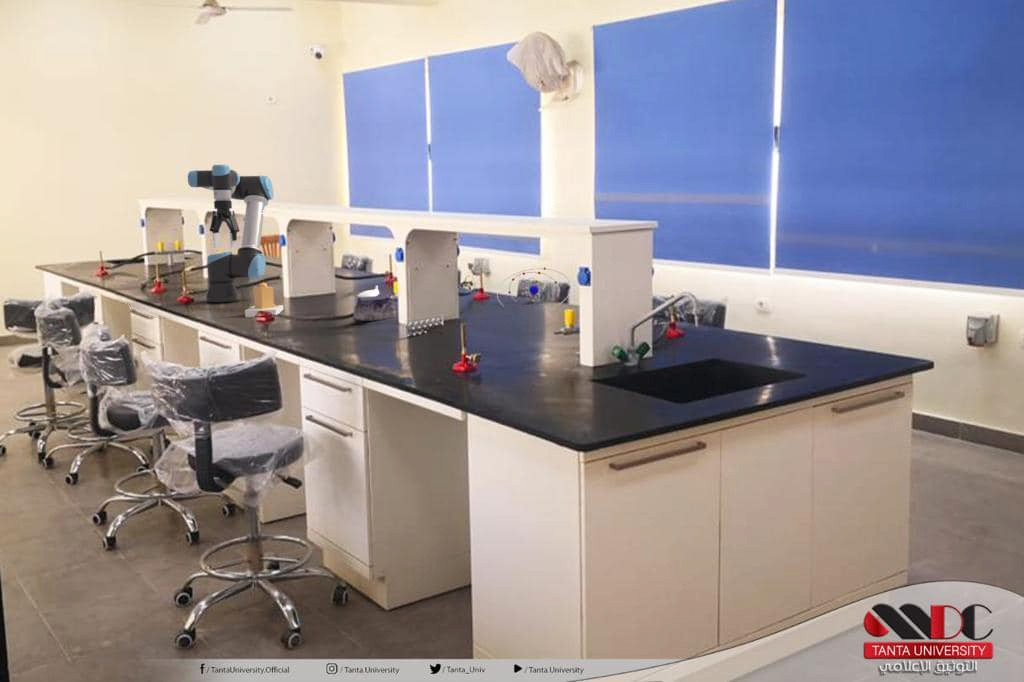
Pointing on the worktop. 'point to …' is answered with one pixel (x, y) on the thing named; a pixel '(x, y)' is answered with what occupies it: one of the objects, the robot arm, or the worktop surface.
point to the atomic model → (533, 289)
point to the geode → (374, 309)
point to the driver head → (369, 293)
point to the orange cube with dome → (263, 296)
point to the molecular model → (421, 326)
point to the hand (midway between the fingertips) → (225, 247)
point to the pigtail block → (253, 311)
